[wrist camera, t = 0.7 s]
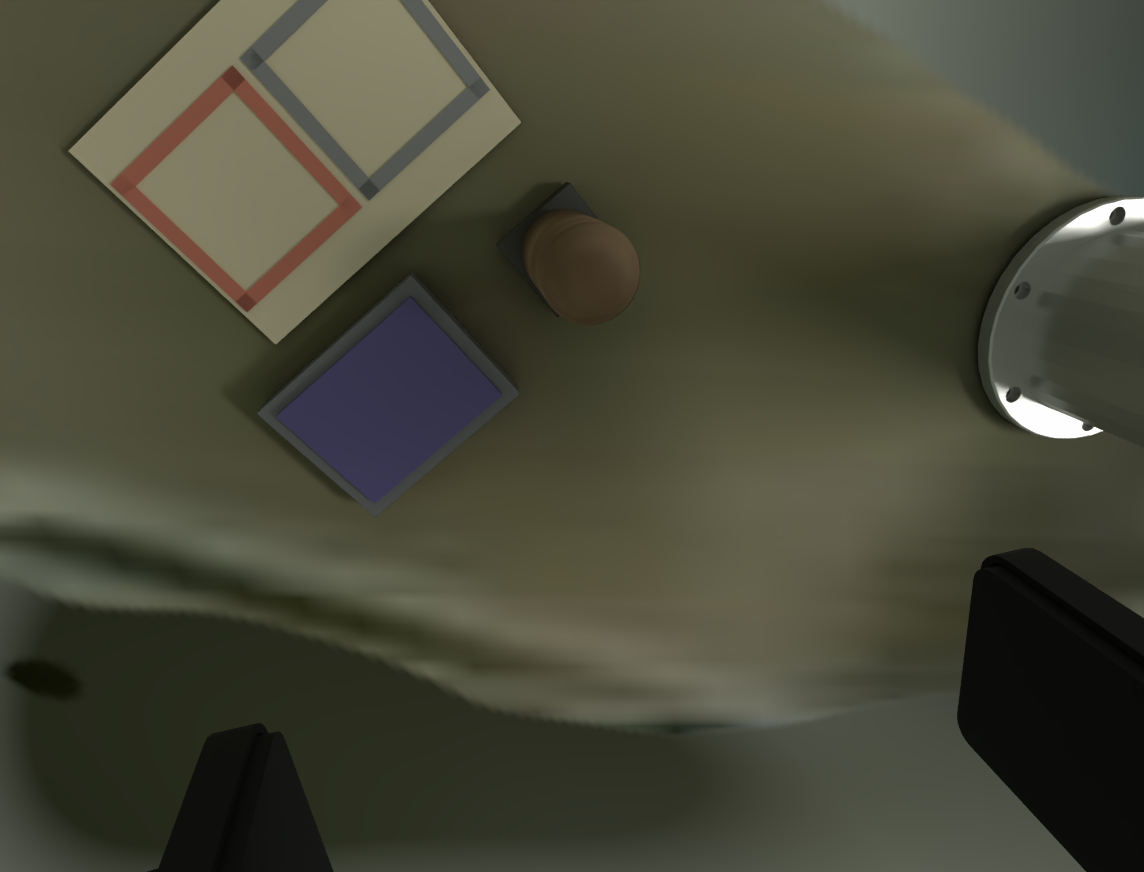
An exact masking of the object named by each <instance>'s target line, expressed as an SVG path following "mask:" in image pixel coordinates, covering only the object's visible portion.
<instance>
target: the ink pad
mask: <svg viewBox="0 0 1144 872" xmlns="http://www.w3.org/2000/svg"><path fill="white" fill-rule="evenodd" d="M519 395H520V391H519V388H518V386H517V384H516V383H515V382H514V381H513V380H512V379H511V378H510V377H509V376H508V375H507V374H506V373H505V371H504V370H503V369H502V368H501V367H500V366H499V365H498V364H497V363H496V362H495V361H494V359H493V358H492V357H491V356H490V355H489V354H488V353H487V352H486V351H485V350H484V349H483V348H482V346H481V345H480V344H479V343H478V342H477V341H476V340H475V339H474V338H473V337H472V336H471V335H470V333H469V332H468V331H467V330H466V329H465V328H464V327H463V326H462V325H461V324H460V323H459V321H458V320H457V319H456V318H455V317H454V316H453V315H452V314H451V313H450V312H449V311H448V310H447V308H446V307H445V306H444V305H443V304H442V303H441V302H440V301H439V300H438V299H437V298H436V296H435V295H434V294H433V293H432V292H431V291H430V290H429V289H428V288H427V287H426V286H425V285H424V283H423V282H422V281H421V280H420V279H419V278H418V277H417V276H416V275H415V274H414V273H413V272H411V273H409V274H408V275H407V276H406V277H405V278H404V279H403V280H402V281H401V282H399V283H398V284H397V285H396V286H395V287H394V288H393V289H392V290H390V291H389V292H388V293H387V294H386V295H385V296H384V297H383V298H382V299H380V300H379V301H378V302H377V303H376V304H375V305H374V306H373V307H371V308H370V309H369V310H368V311H367V312H366V313H365V314H364V315H363V316H361V317H360V318H359V319H358V320H357V321H356V322H355V323H354V324H352V325H351V326H350V327H349V328H348V329H347V330H346V331H345V332H344V333H342V334H341V335H340V336H339V337H338V338H337V339H336V340H335V341H333V342H332V343H331V344H330V345H329V346H328V347H327V348H326V349H325V350H323V351H322V352H321V353H320V354H319V355H318V356H317V357H316V358H314V359H313V360H312V361H311V362H310V363H309V364H308V365H307V366H306V367H304V368H303V369H302V370H301V371H300V372H299V373H298V374H297V375H295V376H294V377H293V378H292V379H291V380H290V381H289V382H288V383H287V384H285V385H284V386H283V387H282V388H281V389H280V390H279V391H278V392H276V393H275V394H274V395H273V396H272V397H271V398H270V399H269V400H267V401H266V402H265V403H264V404H263V405H262V407H261V408H260V409H259V411H258V412H257V415H259V416H260V417H261V418H262V419H263V420H264V421H265V422H267V423H268V424H269V425H270V426H271V427H272V428H273V429H275V430H276V431H277V432H278V433H279V434H280V435H281V436H283V437H284V438H285V439H286V440H287V441H288V442H289V443H291V444H292V445H293V446H294V447H295V448H296V449H297V450H299V451H300V452H301V453H302V454H303V455H304V456H306V457H307V458H308V459H309V460H310V461H311V462H312V463H314V464H315V465H316V466H317V467H318V468H319V469H320V470H322V471H323V472H324V473H325V474H326V475H327V476H328V477H330V478H331V479H332V480H333V481H334V482H335V483H336V484H338V485H339V486H340V487H341V488H342V489H343V490H344V491H346V492H347V493H348V494H349V495H350V496H351V497H352V498H354V499H355V500H356V501H357V502H358V503H359V504H360V505H362V506H363V507H364V508H365V509H366V510H367V511H368V512H370V513H371V514H372V515H373V516H374V517H376V516H377V515H378V514H380V513H381V512H382V511H383V510H384V509H386V508H387V507H388V506H389V505H390V504H391V503H393V502H394V501H395V500H396V499H397V498H398V497H400V496H401V495H402V494H403V493H404V492H406V491H407V490H408V489H409V488H410V487H411V486H413V485H414V484H415V483H416V482H417V481H418V480H420V479H421V478H422V477H423V476H424V475H426V474H427V473H428V472H429V471H430V470H431V469H433V468H434V467H435V466H436V465H437V464H438V463H440V462H441V461H442V460H443V459H444V458H446V457H447V456H448V455H449V454H450V453H451V452H453V451H454V450H455V449H456V448H457V447H458V446H460V445H461V444H462V443H463V442H464V441H466V440H467V439H468V438H469V437H470V436H471V435H473V434H474V433H475V432H476V431H477V430H478V429H480V428H481V427H482V426H483V425H484V424H486V423H487V422H488V421H489V420H490V419H491V418H493V417H494V416H495V415H496V414H497V413H499V412H500V411H501V410H502V409H503V408H504V407H506V406H507V405H508V404H509V403H510V402H511V401H513V400H514V399H515V398H516V397H517V396H519Z"/></svg>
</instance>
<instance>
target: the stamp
mask: <svg viewBox="0 0 1144 872" xmlns="http://www.w3.org/2000/svg"><path fill="white" fill-rule="evenodd" d="M496 245H497V247H498V248H499V249H500V250H501V251H502V253H503V254H504V255H505V256H506V257H507V259H508V260H509V261H510V262H511V263H512V264H513V266H514V267H515V268H516V269H517V270H518V272H519V273H520V274H521V275H522V276H523V277H524V279H525V280H526V281H527V282H528V283H529V285H530V286H531V287H532V288H533V289H534V290H535V292H536V293H537V294H538V295H539V296H540V298H541V299H542V300H543V301H544V302H545V303H546V305H547V306H548V307H549V308H550V309H551V311H552V312H553V313H554V314H555V315H556V316H557V318H558V317H559V316H561V317H563V318H565V319H567V320H569V321H571V322H574V323H577V324H583V325H594V324H600V323H603V322H606V321H608V320H611V319H612V318H614V317H616V316H617V315H619V314H620V313H621V312H622V311H623V310H624V309H625V308H626V307H627V306H628V305H629V304H630V302H631V301H632V299H633V298H634V296H635V293H636V291H637V288H638V285H639V280H640V262H639V258H638V255H637V252H636V250H635V247H634V246H633V244H632V242H631V241H630V240H629V238H628V237H627V236H626V235H625V234H624V233H622V232H621V231H620V230H618V229H617V228H615V227H613V226H611V225H609V224H607V223H604V222H602V221H600V220H598V219H597V218H596V216H595V215H594V214H593V212H592V211H591V210H590V208H589V207H588V206H587V205H586V203H585V202H584V201H583V199H582V198H581V197H580V195H579V194H578V193H577V191H576V190H575V189H574V187H573V186H572V185H571V184H570V183H567V182H566V183H565V184H564V185H563V186H561V187H560V188H559V189H558V190H557V191H556V192H555V193H554V194H552V195H551V196H550V197H549V198H548V199H547V200H546V201H545V202H543V203H542V204H541V205H540V206H539V207H538V208H537V209H535V210H534V211H533V212H532V213H531V214H530V215H529V216H528V217H526V218H525V219H524V220H523V221H522V222H521V223H520V224H519V225H517V226H516V227H515V228H514V229H513V230H512V231H511V232H509V233H508V234H507V235H506V236H505V237H504V238H503V239H502V240H500V241H499V242H498V243H497V244H496Z"/></svg>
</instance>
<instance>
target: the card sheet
mask: <svg viewBox="0 0 1144 872" xmlns="http://www.w3.org/2000/svg"><path fill="white" fill-rule="evenodd" d="M520 123H521V121H520V120H519V119H518V117H517V116H516V115H515V113H514V112H513V111H512V110H511V108H510V107H509V106H508V104H507V103H506V102H505V100H504V99H503V98H502V96H501V95H500V94H499V93H498V91H497V90H496V89H495V87H494V86H493V85H492V83H491V82H490V81H489V79H488V78H487V77H486V75H485V74H484V73H483V72H482V70H481V69H480V68H479V66H478V65H477V64H476V62H475V61H474V60H473V58H472V57H471V56H470V55H469V53H468V52H467V51H466V49H465V48H464V47H463V45H462V44H461V43H460V41H459V40H458V39H457V38H456V36H455V35H454V34H453V32H452V31H451V30H450V28H449V27H448V26H447V24H446V23H445V22H444V21H443V19H442V18H441V17H440V15H439V14H438V13H437V11H436V10H435V9H434V7H433V6H432V5H431V4H430V2H429V1H428V0H220V1H219V2H218V3H217V4H216V5H215V6H214V7H213V8H212V9H211V10H210V11H209V12H208V13H207V14H206V15H205V16H204V17H203V18H202V19H201V20H200V21H199V22H198V23H197V24H196V25H195V26H194V27H193V28H192V29H191V30H190V31H189V32H188V33H187V34H186V35H185V36H184V37H183V38H182V39H181V40H180V41H179V42H178V43H177V44H176V45H175V46H174V47H173V48H172V49H171V50H170V51H169V52H168V53H167V54H166V55H165V56H164V57H163V58H162V59H161V60H160V61H159V62H158V63H157V64H156V65H155V66H154V67H153V68H152V69H151V70H150V71H149V72H148V73H147V74H146V75H145V76H144V77H143V78H142V79H140V80H139V81H138V82H137V83H136V84H135V85H134V86H133V87H132V88H131V89H130V90H129V91H128V92H127V93H126V94H125V95H124V96H123V97H122V98H121V99H120V100H119V101H118V102H117V103H116V104H115V105H114V106H113V107H112V108H111V109H110V110H109V111H108V112H107V113H106V114H105V115H104V116H103V117H102V118H101V119H100V120H99V121H98V122H97V123H96V124H95V125H94V126H93V127H92V128H91V129H90V130H89V131H88V132H87V133H86V134H85V135H84V136H83V137H82V138H81V139H80V140H79V141H78V142H77V143H76V144H75V145H74V146H73V147H72V148H71V149H70V150H69V152H70V153H71V154H72V155H73V156H74V157H75V158H76V159H77V160H78V161H79V162H81V163H82V164H83V165H84V166H85V167H86V168H87V169H88V170H89V171H90V172H91V173H92V174H93V175H94V176H96V177H97V178H98V179H99V180H100V181H101V182H102V183H103V184H104V185H105V186H106V187H107V188H108V189H109V190H111V191H112V192H113V193H114V194H115V195H116V196H117V197H118V198H119V199H120V200H121V201H122V202H123V203H124V204H126V205H127V206H128V207H129V208H130V209H131V210H132V211H133V212H134V213H135V214H136V215H137V216H138V217H139V218H141V219H142V220H143V221H144V222H145V223H146V224H147V225H148V226H149V227H150V228H151V229H152V230H153V231H154V232H156V233H157V234H158V235H159V236H160V237H161V238H162V239H163V240H164V241H165V242H166V243H167V244H168V245H169V246H171V247H172V248H173V249H174V250H175V251H176V252H177V253H178V254H179V255H180V256H181V257H182V258H183V259H184V260H186V261H187V262H188V263H189V264H190V265H191V266H192V267H193V268H194V269H195V270H196V271H197V272H198V273H199V274H201V275H202V276H203V277H204V278H205V279H206V280H207V281H208V282H209V283H210V284H211V285H212V286H213V287H214V288H216V289H217V290H218V291H219V292H220V293H221V294H222V295H223V296H224V297H225V298H226V299H227V300H228V301H229V302H231V303H232V304H233V305H234V306H235V307H236V308H237V309H238V310H239V311H240V312H241V313H242V314H243V315H245V316H246V317H247V318H248V319H249V320H250V321H251V322H252V323H253V324H254V325H255V326H256V327H257V328H258V329H260V330H261V331H262V332H263V333H264V334H265V335H266V336H267V337H268V338H269V339H270V340H271V341H272V342H273V343H275V344H277V343H278V342H279V341H281V340H282V339H283V338H284V337H285V336H286V335H287V334H288V333H289V332H290V331H292V330H293V329H294V328H295V327H296V326H297V325H298V324H299V323H300V322H302V321H303V320H304V319H305V318H306V317H307V316H308V315H309V314H310V313H311V312H313V311H314V310H315V309H316V308H317V307H318V306H319V305H320V304H321V303H323V302H324V301H325V300H326V299H327V298H328V297H329V296H330V295H331V294H332V293H334V292H335V291H336V290H337V289H338V288H339V287H340V286H341V285H342V284H344V283H345V282H346V281H347V280H348V279H349V278H350V277H351V276H352V275H353V274H355V273H356V272H357V271H358V270H359V269H360V268H361V267H362V266H363V265H365V264H366V263H367V262H368V261H369V260H370V259H371V258H372V257H373V256H374V255H376V254H377V253H378V252H379V251H380V250H381V249H382V248H383V247H384V246H386V245H387V244H388V243H389V242H390V241H391V240H392V239H393V238H394V237H395V236H397V235H398V234H399V233H400V232H401V231H402V230H403V229H404V228H405V227H407V226H408V225H409V224H410V223H411V222H412V221H413V220H414V219H415V218H416V217H418V216H419V215H420V214H421V213H422V212H423V211H424V210H425V209H426V208H428V207H429V206H430V205H431V204H432V203H433V202H434V201H435V200H436V199H437V198H439V197H440V196H441V195H442V194H443V193H444V192H445V191H446V190H447V189H449V188H450V187H451V186H452V185H453V184H454V183H455V182H456V181H457V180H458V179H460V178H461V177H462V176H463V175H464V174H465V173H466V172H467V171H468V170H470V169H471V168H472V167H473V166H474V165H475V164H476V163H477V162H478V161H479V160H481V159H482V158H483V157H484V156H485V155H486V154H487V153H488V152H489V151H491V150H492V149H493V148H494V147H495V146H496V145H497V144H498V143H499V142H500V141H502V140H503V139H504V138H505V137H506V136H507V135H508V134H509V133H510V132H512V131H513V130H514V129H515V128H516V127H517V126H518V125H519V124H520Z"/></svg>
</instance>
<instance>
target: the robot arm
mask: <svg viewBox="0 0 1144 872" xmlns="http://www.w3.org/2000/svg"><path fill="white" fill-rule="evenodd" d="M978 368H979V372H980V377H981V381H982V385H983V388H984V390H985V392H986V394H987V396H988V398H989V400H990V402H991V404H992V405H993V406H994V407H995V408H996V410H997V411H998V412H999V413H1000V414H1001V416H1002V417H1004V418H1005V419H1007V420H1008V421H1010V422H1011V423H1013V424H1014V425H1015V426H1017V427H1020V428H1022V429H1024V430H1026V431H1029V432H1031V433H1033V434H1035V435H1039V436H1043V437H1047V438H1051V439H1074V438H1080V437H1086V436H1090V435H1093V434H1096V433H1098V432H1101V431H1105V432H1107V433H1110V434H1112V435H1115V436H1117V437H1119V438H1122V439H1124V440H1127V441H1129V442H1131V443H1134V444H1136V445H1138V446H1141V447H1143V448H1144V197H1136V196H1115V197H1108V198H1101V199H1097V200H1094V201H1091V202H1088V203H1085V204H1083V205H1080V206H1077V207H1075V208H1073V209H1071V210H1070V211H1068V212H1066V213H1064V214H1062V215H1061V216H1059V217H1057V218H1055V219H1054V220H1053V221H1051V222H1050V223H1049V224H1048V225H1046V226H1045V227H1044V228H1043V229H1041V230H1040V231H1039V232H1038V233H1036V234H1035V235H1034V236H1033V237H1032V238H1031V239H1030V240H1029V241H1028V242H1027V243H1026V244H1025V245H1024V247H1023V248H1022V249H1021V250H1020V251H1019V252H1018V253H1017V254H1016V255H1015V257H1014V258H1013V260H1012V261H1011V262H1010V264H1009V265H1008V267H1007V268H1006V270H1005V271H1004V272H1003V274H1002V275H1001V277H1000V279H999V281H998V283H997V285H996V287H995V289H994V291H993V293H992V295H991V297H990V299H989V301H988V304H987V307H986V310H985V313H984V316H983V320H982V323H981V329H980V335H979V341H978ZM957 720H958V725H959V728H960V730H961V733H962V735H963V736H964V738H965V740H966V741H967V743H968V744H969V745H970V746H971V747H972V748H973V749H974V751H975V752H976V753H977V754H978V755H979V756H980V757H981V758H982V759H983V760H984V761H985V762H986V763H987V765H988V766H989V767H990V768H991V769H992V770H993V771H994V772H995V773H996V774H997V775H998V776H999V778H1000V779H1001V780H1002V781H1003V782H1004V783H1005V784H1006V785H1007V786H1008V787H1009V788H1010V789H1011V790H1012V792H1013V793H1014V794H1015V795H1016V796H1017V797H1018V798H1019V799H1020V800H1021V801H1022V802H1023V804H1024V805H1025V806H1026V807H1027V808H1028V809H1029V810H1030V811H1031V812H1032V813H1033V814H1034V816H1035V817H1036V818H1037V819H1038V820H1039V821H1040V822H1041V823H1042V824H1043V825H1044V826H1045V827H1046V829H1047V830H1049V832H1050V833H1051V834H1052V835H1053V836H1054V837H1055V838H1056V839H1057V840H1058V841H1059V843H1060V844H1061V845H1062V846H1063V847H1064V848H1065V849H1066V850H1067V851H1068V852H1069V853H1070V854H1071V856H1072V857H1073V858H1074V859H1075V860H1076V861H1077V862H1078V863H1079V864H1080V865H1081V866H1082V868H1083V869H1084V870H1085V871H1086V872H1144V618H1142V617H1141V616H1139V615H1138V614H1136V613H1135V612H1133V611H1132V610H1130V609H1129V608H1127V607H1125V606H1124V605H1122V604H1121V603H1119V602H1118V601H1116V600H1115V599H1113V598H1112V597H1110V596H1108V595H1107V594H1105V593H1104V592H1102V591H1101V590H1099V589H1098V588H1096V587H1095V586H1093V585H1091V584H1090V583H1088V582H1087V581H1085V580H1084V579H1082V578H1081V577H1079V576H1078V575H1076V574H1074V573H1073V572H1071V571H1070V570H1068V569H1067V568H1065V567H1064V566H1062V565H1060V564H1059V563H1057V562H1056V561H1054V560H1053V559H1051V558H1050V557H1048V556H1047V555H1045V554H1043V553H1042V552H1040V551H1038V550H1036V549H1034V548H1023V549H1018V550H1014V551H1010V552H1005V553H1001V554H996V555H992V556H989V557H987V558H986V559H985V560H984V561H983V563H982V566H981V569H980V570H978V571H977V572H976V573H975V576H974V579H973V587H972V595H971V604H970V612H969V621H968V629H967V637H966V646H965V654H964V662H963V671H962V679H961V687H960V696H959V704H958V712H957ZM148 872H333V869H332V867H331V864H330V861H329V858H328V855H327V853H326V850H325V847H324V845H323V842H322V839H321V836H320V834H319V831H318V828H317V825H316V823H315V820H314V817H313V815H312V812H311V809H310V807H309V804H308V801H307V798H306V796H305V793H304V790H303V788H302V785H301V782H300V779H299V777H298V774H297V771H296V768H295V766H294V763H293V760H292V757H291V755H290V752H289V749H288V747H287V744H286V741H285V739H284V736H283V735H282V733H281V732H273V733H269V734H268V732H267V730H266V728H265V726H264V725H263V724H261V723H257V724H252V725H248V726H244V727H239V728H235V729H230V730H226V731H222V732H217V733H213V734H211V735H210V736H209V737H208V738H207V739H206V741H205V743H204V746H203V748H202V751H201V754H200V756H199V759H198V762H197V765H196V768H195V770H194V773H193V776H192V778H191V781H190V784H189V786H188V789H187V792H186V795H185V797H184V800H183V803H182V805H181V808H180V811H179V814H178V816H177V819H176V822H175V825H174V827H173V830H172V833H171V836H170V838H169V841H168V844H167V846H166V849H165V852H164V855H163V857H162V860H161V863H160V865H159V868H158V869H154V870H151V871H148Z"/></svg>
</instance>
